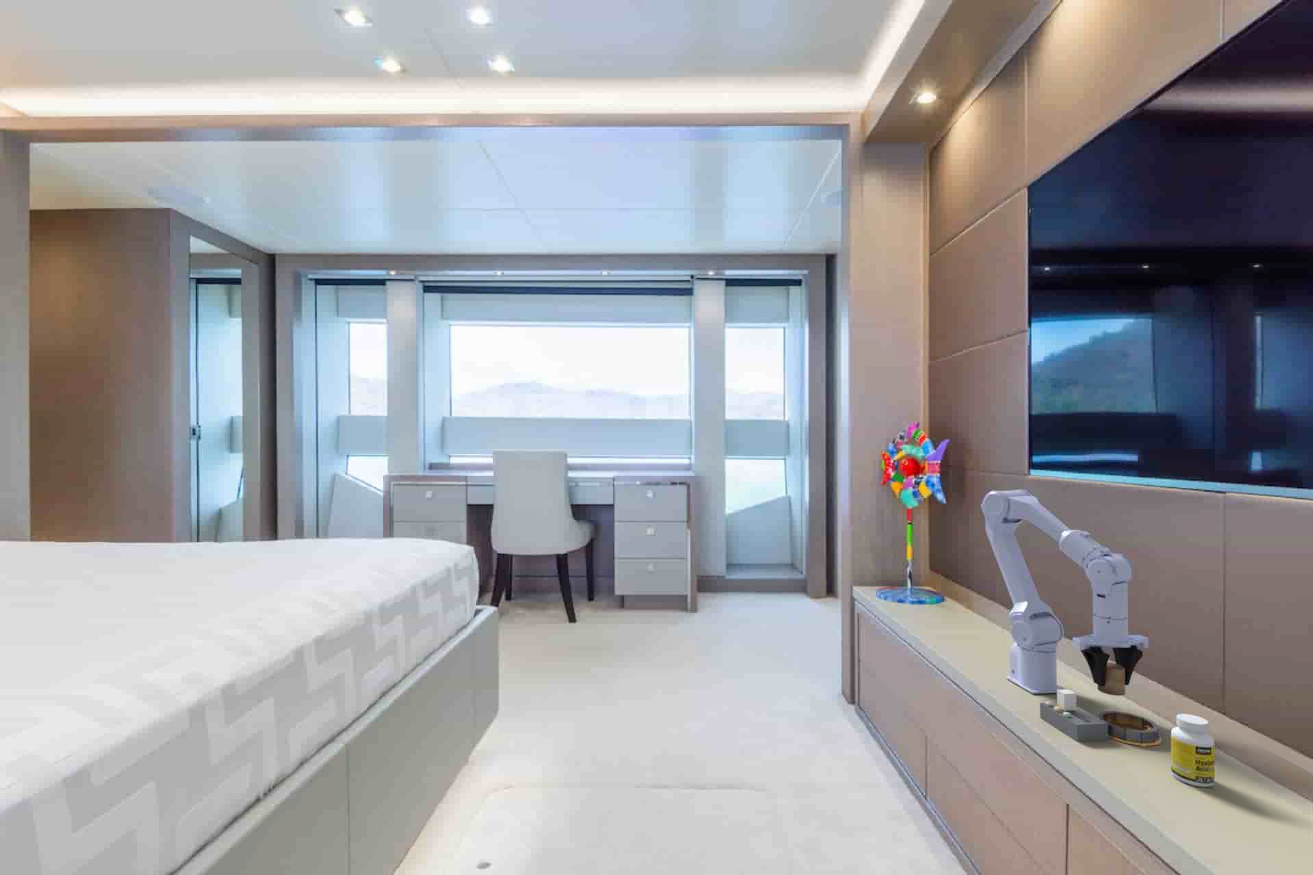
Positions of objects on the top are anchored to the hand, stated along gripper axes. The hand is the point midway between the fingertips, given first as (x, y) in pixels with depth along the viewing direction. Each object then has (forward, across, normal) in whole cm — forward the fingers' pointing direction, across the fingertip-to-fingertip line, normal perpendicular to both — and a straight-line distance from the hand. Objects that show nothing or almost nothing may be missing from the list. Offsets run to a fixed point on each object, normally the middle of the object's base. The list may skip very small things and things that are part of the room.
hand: (1111, 683), depth 128 cm
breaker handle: (+3, -12, -3) cm, 13 cm away
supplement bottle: (+6, -6, -24) cm, 26 cm away
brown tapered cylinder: (+2, 0, 0) cm, 2 cm away
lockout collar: (+6, -4, -8) cm, 11 cm away
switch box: (+6, -12, -5) cm, 14 cm away
